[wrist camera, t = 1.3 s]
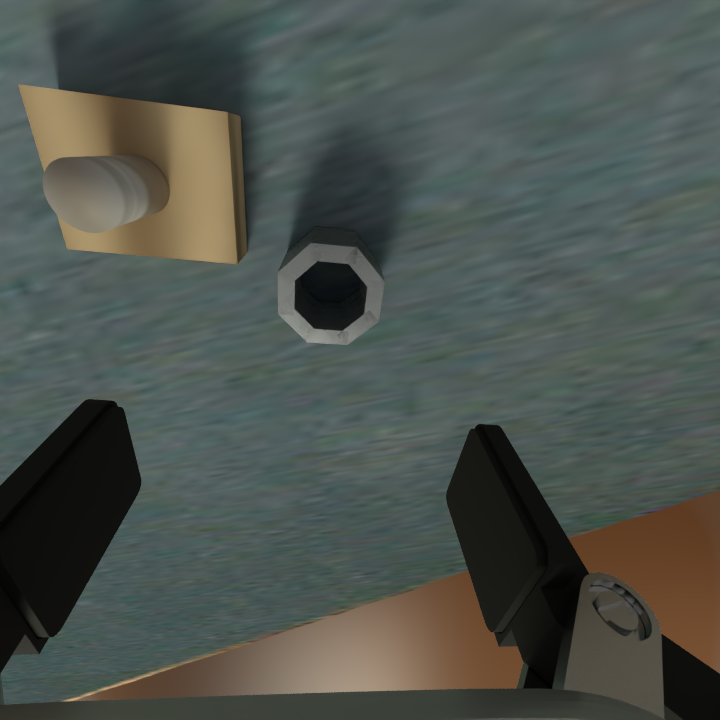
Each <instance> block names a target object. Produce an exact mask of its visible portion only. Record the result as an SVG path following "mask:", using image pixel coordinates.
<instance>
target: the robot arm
mask: <svg viewBox="0 0 720 720" xmlns="http://www.w3.org/2000/svg"><path fill="white" fill-rule="evenodd" d="M140 486H141V477H140V473H139V469H138V465H137V460H136V456H135V452H134V448H133V444H132V440H131V436H130V432H129V428H128V424H127V420H126V416H125V412H124V409H123V408H122V407H118V406H117V403H116V402H115V401H108V400H93V399H88V400H85V401H84V402H83V403H82V404H81V405H80V406H79V407H78V408H77V409H76V410H75V411H74V412H73V413H72V414H71V415H70V416H69V417H68V418H67V419H66V420H65V421H64V422H63V423H62V424H61V425H60V426H59V427H58V428H57V429H56V430H55V431H54V432H53V433H52V434H51V435H50V436H49V437H48V438H47V439H46V440H45V441H44V442H43V443H42V444H41V445H40V446H39V447H38V448H37V449H36V450H35V451H34V452H33V453H32V454H31V455H30V456H29V457H28V458H27V459H26V460H25V461H24V462H23V463H22V464H21V465H20V466H19V467H18V468H17V469H16V470H15V471H14V472H13V473H12V474H11V475H10V476H9V477H8V478H7V479H6V480H5V481H4V482H3V483H2V484H1V486H0V720H720V674H719V673H717V672H716V671H715V670H713V669H712V668H710V667H709V666H708V665H706V664H704V663H703V662H702V661H700V660H699V659H697V658H696V657H695V656H693V655H691V654H690V653H689V652H687V651H685V650H684V649H683V648H681V647H680V646H679V645H677V644H675V643H674V642H673V641H671V640H670V639H668V638H667V637H666V636H664V635H663V634H661V630H660V626H659V622H658V620H657V618H656V616H655V614H654V612H653V610H652V609H651V608H650V607H649V605H648V604H647V603H646V601H645V600H644V599H643V598H642V597H641V596H640V595H639V594H638V593H637V592H636V591H635V590H634V589H633V588H632V587H630V586H629V585H627V584H626V583H624V582H623V581H621V580H620V579H618V578H616V577H614V576H611V575H609V574H605V573H599V572H597V573H590V574H589V573H588V571H587V569H586V568H585V566H584V564H583V563H582V561H581V559H580V558H579V556H578V554H577V553H576V551H575V549H574V548H573V546H572V544H571V543H570V541H569V539H568V538H567V536H566V534H565V533H564V531H563V529H562V528H561V526H560V524H559V523H558V521H557V519H556V518H555V516H554V514H553V513H552V511H551V509H550V508H549V506H548V504H547V503H546V501H545V499H544V498H543V496H542V495H541V493H540V491H539V490H538V488H537V486H536V485H535V483H534V481H533V480H532V478H531V476H530V475H529V473H528V471H527V470H526V468H525V466H524V465H523V463H522V461H521V460H520V458H519V456H518V455H517V453H516V452H515V450H514V448H513V447H512V445H511V443H510V442H509V440H508V438H507V437H506V435H505V433H504V432H503V430H502V428H501V427H500V426H498V425H485V424H478V425H477V426H476V427H475V429H471V430H470V431H469V434H468V436H467V439H466V442H465V444H464V447H463V450H462V452H461V455H460V458H459V460H458V463H457V466H456V468H455V471H454V474H453V476H452V479H451V482H450V484H449V487H448V490H447V494H446V499H447V505H448V508H449V511H450V514H451V517H452V520H453V523H454V527H455V530H456V533H457V536H458V539H459V542H460V545H461V548H462V552H463V555H464V558H465V561H466V564H467V567H468V570H469V573H470V576H471V580H472V583H473V586H474V589H475V592H476V595H477V598H478V601H479V605H480V608H481V611H482V614H483V617H484V620H485V623H486V626H487V627H488V629H489V630H490V631H491V632H494V633H495V636H496V639H497V642H498V645H499V646H518V649H519V651H520V654H521V657H522V659H523V661H524V662H523V666H522V670H521V674H520V677H519V681H518V685H517V689H446V690H410V691H409V690H408V691H372V692H371V691H370V692H335V693H305V694H304V693H303V694H272V695H271V694H270V695H240V696H211V697H210V696H208V697H183V698H182V697H180V698H154V699H153V698H152V699H126V700H100V701H99V700H98V701H70V702H48V703H30V704H12V705H4V698H3V689H2V680H1V672H2V670H3V668H4V667H5V665H6V664H7V662H8V660H9V659H10V657H11V656H12V655H20V654H40V652H41V650H42V649H43V647H44V645H45V643H46V642H47V640H48V638H49V637H54V636H55V635H56V634H57V633H58V632H59V631H60V630H61V628H62V627H63V625H64V623H65V621H66V620H67V618H68V616H69V614H70V613H71V611H72V609H73V607H74V606H75V604H76V602H77V600H78V599H79V597H80V595H81V593H82V592H83V590H84V588H85V586H86V584H87V583H88V581H89V579H90V577H91V576H92V574H93V572H94V570H95V569H96V567H97V565H98V563H99V562H100V560H101V558H102V556H103V554H104V553H105V551H106V549H107V547H108V546H109V544H110V542H111V540H112V539H113V537H114V535H115V533H116V532H117V530H118V528H119V526H120V524H121V523H122V521H123V519H124V517H125V516H126V514H127V512H128V510H129V509H130V507H131V505H132V503H133V502H134V500H135V498H136V496H137V495H138V492H139V490H140Z"/></svg>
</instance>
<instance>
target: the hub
mask: <svg viewBox="0 0 720 720" xmlns="http://www.w3.org/2000/svg"><path fill="white" fill-rule="evenodd" d="M317 261H322V262H332V263H343V264H349V265H350V266H351V268H352V269H353V270H354V271H355V272H356V274H357V275H358V276H359V277H360V278H361V280H360V288H359V289H358V290H356V291H355V292H354V293H353V294H351V295H350V296H349V297H348V298H346V299H345V300H344V301H343V302H329V301H317V300H316V298H315V297H314V296H313V295H312V294H311V293H310V292H309V291H308V290H307V289H306V288H305V287H304V286H303V285H302V283H301V275H302V274H303V273H304V272H305V271H307V270H308V269H309V268H310V267H311V266H312V265H314V264H315V263H316V262H317ZM384 282H385V281H384V278H383V275H382V273H381V270H380V267H379V265H378V262H377V259H376V258H375V257H374V256H373V255H372V253H371V252H370V251H369V249H368V248H367V247H366V246H365V244H364V243H363V242H362V241H361V239H360V238H359V237H358V235H357V234H356V233H355V232H354V230H346V229H336V228H326V227H316V226H315V227H314V228H313V229H312V230H311V231H310V232H308V233H307V234H306V235H305V236H304V237H303V238H302V239H301V240H300V241H298V242H297V243H296V244H295V245H294V246H293V247H292V248H291V249H290V250H288V251H287V253H286V255H285V258H284V260H283V262H282V264H281V266H280V268H279V270H278V314H279V315H280V316H281V317H282V318H283V319H284V320H285V321H286V322H287V323H288V324H289V325H290V326H291V327H292V328H293V329H294V330H295V331H296V332H297V333H298V334H299V335H300V336H301V337H302V338H303V339H304V340H305V341H307V342H312V343H326V344H341V345H348V344H349V343H350V342H352V341H353V340H355V339H356V338H357V337H359V336H360V335H361V334H363V333H364V332H365V331H367V330H368V329H369V328H371V327H372V326H373V325H375V324H376V323H377V322H379V316H380V310H381V303H382V296H383V289H384Z"/></svg>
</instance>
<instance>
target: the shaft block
mask: <svg viewBox="0 0 720 720" xmlns="http://www.w3.org/2000/svg"><path fill="white" fill-rule="evenodd" d="M18 86H19V89H20V92H21V96H22V99H23V102H24V106H25V109H26V113H27V116H28V119H29V123H30V126H31V129H32V133H33V136H34V139H35V143H36V146H37V149H38V153H39V156H40V159H41V163H42V166H43V169H44V174H43V189H44V193H45V196H46V199H47V201H48V203H49V204H50V206H51V208H52V209H53V210H54V212H55V213H56V214H57V216H58V219H59V223H60V226H61V229H62V233H63V236H64V240H65V243H66V246H67V249H73V250H84V251H96V252H107V253H118V254H129V255H141V256H152V257H163V258H175V259H186V260H197V261H209V262H220V263H231V264H238V263H239V261H240V260H241V259H242V258H243V257H244V256H245V254H246V253H247V235H246V216H245V196H244V176H243V156H242V136H241V116H238V115H235V114H232V113H229V112H224V111H216V110H209V109H201V108H194V107H186V106H179V105H171V104H163V103H156V102H148V101H141V100H133V99H125V98H118V97H110V96H103V95H95V94H88V93H80V92H72V91H65V90H57V89H50V88H42V87H34V86H27V85H19V84H18Z"/></svg>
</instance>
